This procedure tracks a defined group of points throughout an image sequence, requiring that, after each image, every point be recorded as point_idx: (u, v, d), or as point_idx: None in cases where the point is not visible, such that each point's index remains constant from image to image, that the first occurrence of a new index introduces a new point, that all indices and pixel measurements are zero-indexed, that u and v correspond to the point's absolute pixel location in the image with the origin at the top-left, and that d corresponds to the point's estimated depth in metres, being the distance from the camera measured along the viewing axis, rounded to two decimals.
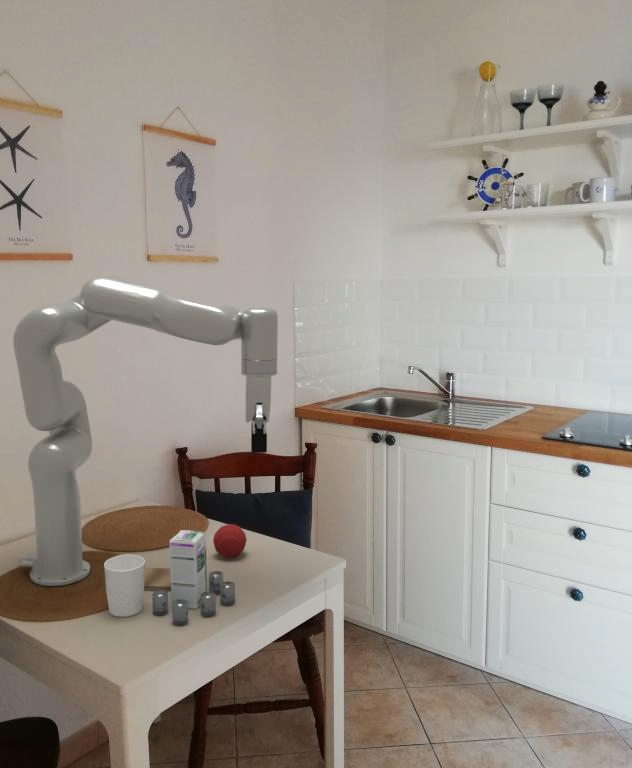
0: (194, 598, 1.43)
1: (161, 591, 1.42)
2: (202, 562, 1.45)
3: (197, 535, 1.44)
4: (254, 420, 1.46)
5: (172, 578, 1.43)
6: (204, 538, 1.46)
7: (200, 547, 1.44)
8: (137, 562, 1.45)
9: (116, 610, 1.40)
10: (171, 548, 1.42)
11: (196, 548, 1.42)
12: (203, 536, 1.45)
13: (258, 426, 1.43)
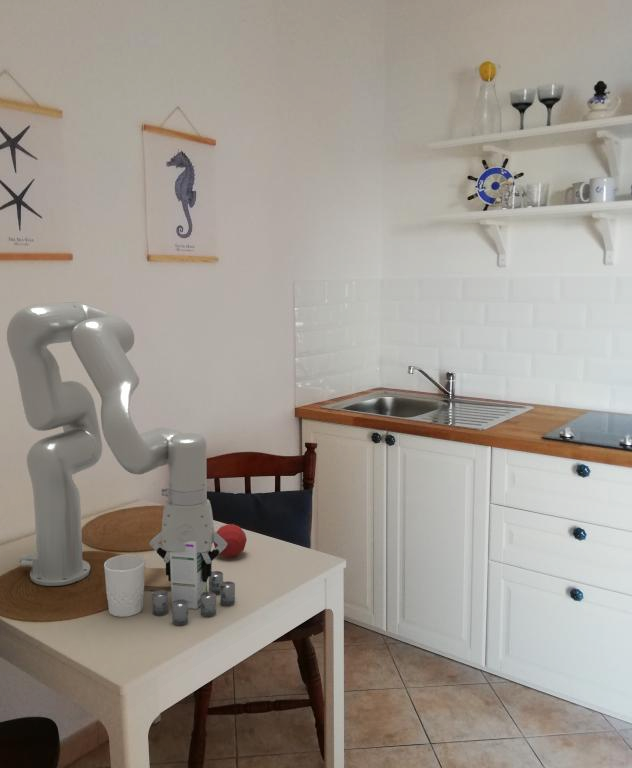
0: (194, 598, 1.43)
1: (161, 591, 1.42)
2: (202, 562, 1.45)
3: None
4: None
5: (172, 578, 1.43)
6: None
7: None
8: (137, 562, 1.45)
9: (116, 610, 1.40)
10: None
11: None
12: None
13: (219, 552, 1.44)
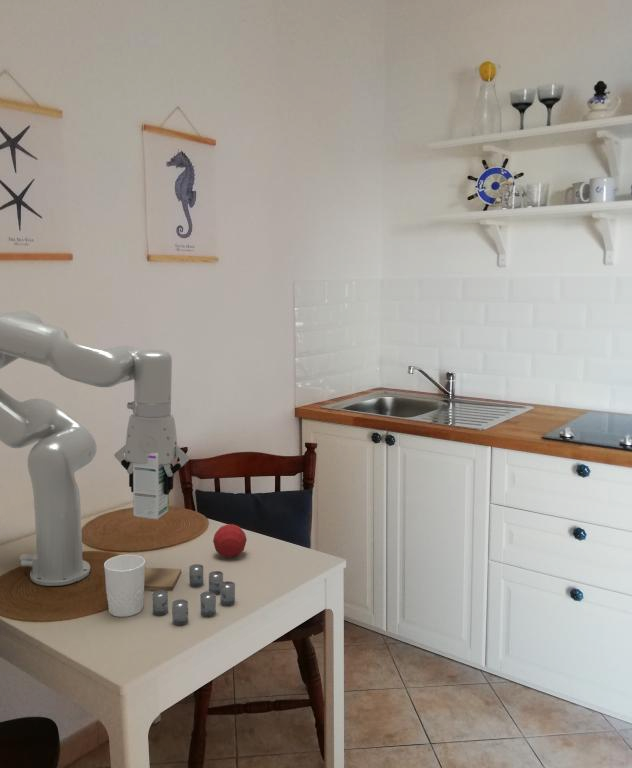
0: (155, 508, 1.49)
1: (161, 591, 1.42)
2: (164, 475, 1.50)
3: None
4: None
5: (134, 488, 1.49)
6: None
7: None
8: (137, 562, 1.45)
9: (116, 610, 1.40)
10: None
11: None
12: None
13: (181, 466, 1.50)
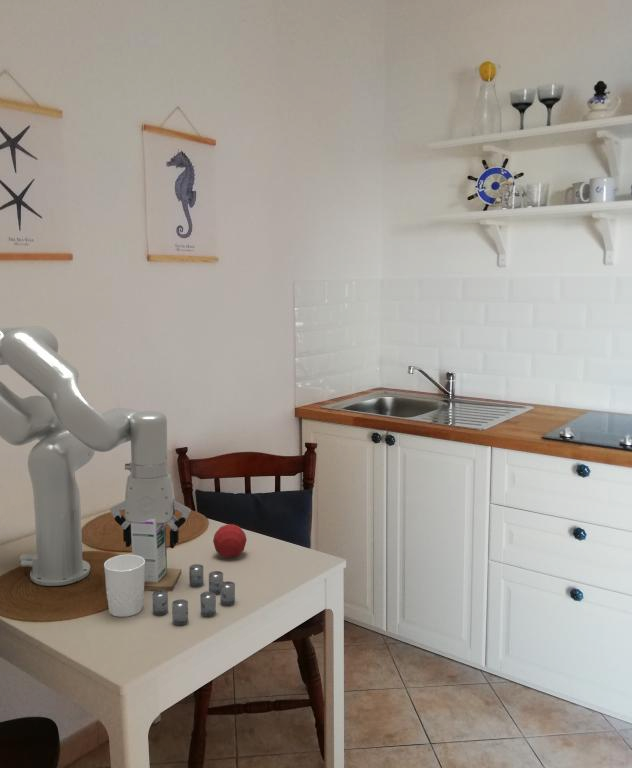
0: (154, 572, 1.52)
1: (161, 591, 1.42)
2: (162, 539, 1.54)
3: None
4: None
5: (133, 554, 1.52)
6: None
7: (160, 525, 1.53)
8: (137, 562, 1.45)
9: (116, 610, 1.40)
10: (132, 526, 1.51)
11: (156, 525, 1.51)
12: None
13: None
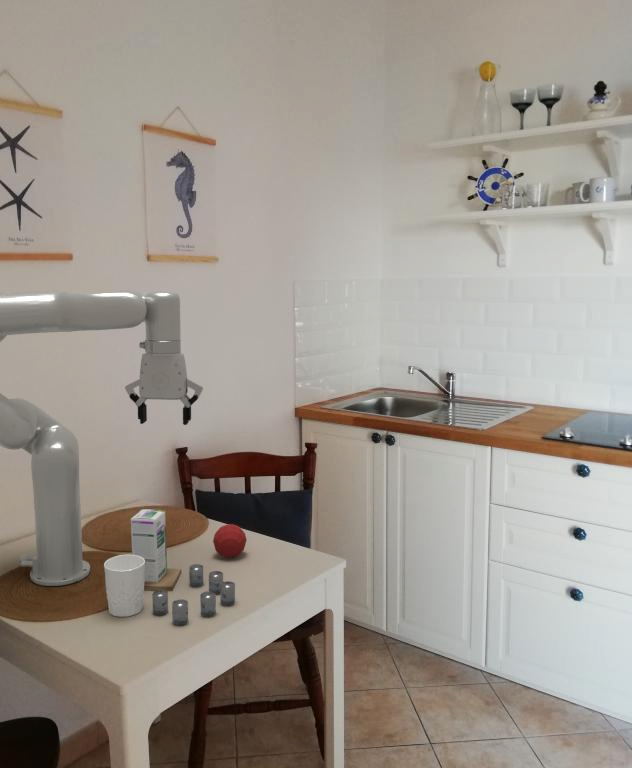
0: (154, 572, 1.52)
1: (161, 591, 1.42)
2: (162, 539, 1.54)
3: (157, 513, 1.53)
4: None
5: (133, 554, 1.52)
6: (163, 516, 1.55)
7: (160, 525, 1.53)
8: (137, 562, 1.45)
9: (116, 610, 1.40)
10: (132, 526, 1.51)
11: (156, 525, 1.51)
12: (163, 515, 1.54)
13: (198, 397, 1.59)
